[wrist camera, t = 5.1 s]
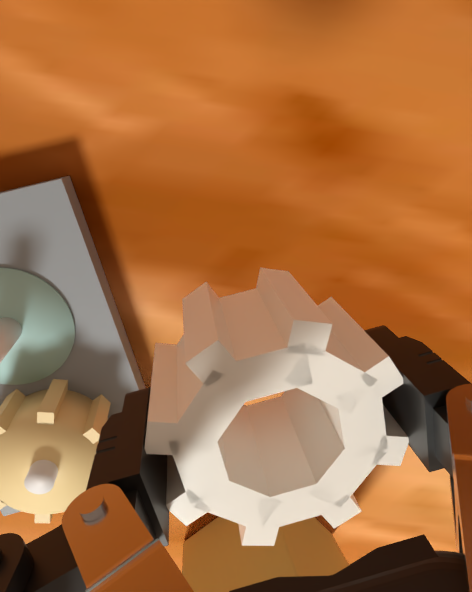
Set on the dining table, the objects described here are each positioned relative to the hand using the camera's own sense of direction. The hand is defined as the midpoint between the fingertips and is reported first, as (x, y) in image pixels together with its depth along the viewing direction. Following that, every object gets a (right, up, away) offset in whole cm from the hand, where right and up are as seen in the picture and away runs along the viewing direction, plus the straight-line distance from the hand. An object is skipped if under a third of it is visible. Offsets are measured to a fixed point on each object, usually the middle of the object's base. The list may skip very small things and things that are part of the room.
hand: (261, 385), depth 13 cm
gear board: (-14, -1, +16) cm, 21 cm away
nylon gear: (0, 0, +1) cm, 1 cm away
